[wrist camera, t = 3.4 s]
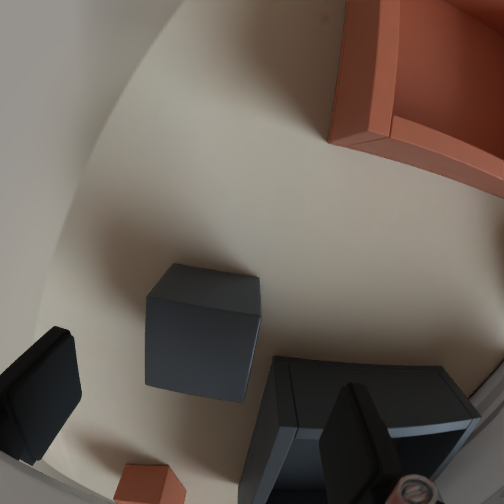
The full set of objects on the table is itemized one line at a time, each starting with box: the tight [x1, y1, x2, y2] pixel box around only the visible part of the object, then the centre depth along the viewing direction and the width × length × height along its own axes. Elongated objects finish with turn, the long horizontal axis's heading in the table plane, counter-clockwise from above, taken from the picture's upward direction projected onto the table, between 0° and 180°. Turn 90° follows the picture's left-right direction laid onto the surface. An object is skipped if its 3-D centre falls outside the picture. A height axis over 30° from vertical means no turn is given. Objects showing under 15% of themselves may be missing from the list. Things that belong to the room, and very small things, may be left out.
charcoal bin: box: [238, 356, 482, 504], centre depth 16 cm, size 12×14×6 cm
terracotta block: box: [113, 464, 186, 504], centre depth 19 cm, size 4×4×4 cm
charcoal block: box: [145, 264, 261, 403], centre depth 14 cm, size 4×4×4 cm
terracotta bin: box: [328, 0, 504, 199], centre depth 10 cm, size 12×12×6 cm
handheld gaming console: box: [434, 361, 504, 504], centre depth 15 cm, size 13×9×10 cm
